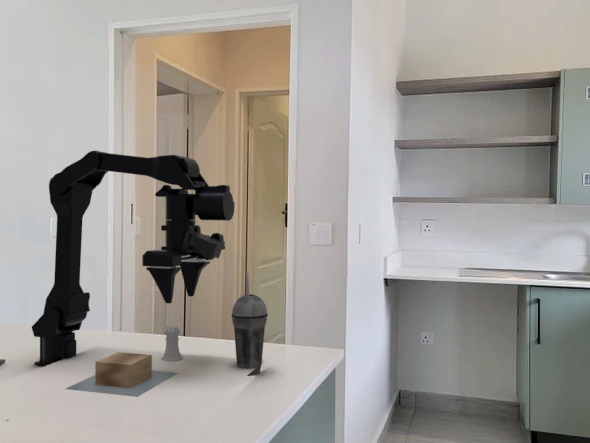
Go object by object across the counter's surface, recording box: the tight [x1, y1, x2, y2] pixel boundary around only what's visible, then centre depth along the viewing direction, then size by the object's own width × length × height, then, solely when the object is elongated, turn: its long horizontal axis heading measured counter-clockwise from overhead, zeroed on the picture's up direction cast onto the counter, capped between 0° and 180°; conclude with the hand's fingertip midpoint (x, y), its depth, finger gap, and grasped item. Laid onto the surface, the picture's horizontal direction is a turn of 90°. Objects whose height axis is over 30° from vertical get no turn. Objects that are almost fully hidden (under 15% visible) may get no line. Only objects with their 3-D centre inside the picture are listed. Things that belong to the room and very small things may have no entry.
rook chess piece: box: [161, 325, 183, 362], centre depth 113 cm, size 4×4×8 cm
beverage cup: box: [231, 272, 268, 377], centre depth 109 cm, size 7×7×20 cm
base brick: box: [94, 351, 153, 388], centre depth 98 cm, size 7×7×4 cm
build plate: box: [64, 370, 178, 398], centre depth 98 cm, size 14×14×2 cm
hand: (180, 299), depth 107 cm, fingers open, 9 cm apart
